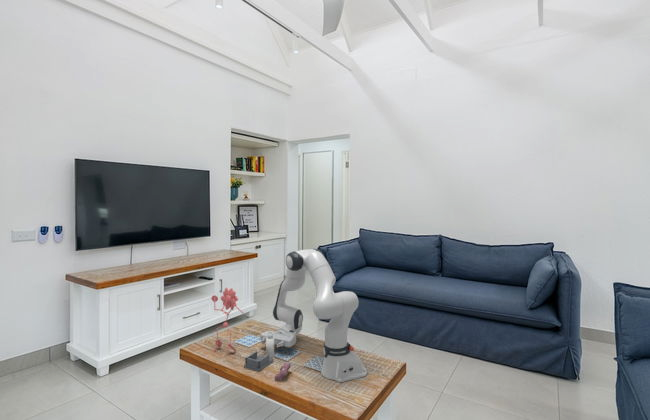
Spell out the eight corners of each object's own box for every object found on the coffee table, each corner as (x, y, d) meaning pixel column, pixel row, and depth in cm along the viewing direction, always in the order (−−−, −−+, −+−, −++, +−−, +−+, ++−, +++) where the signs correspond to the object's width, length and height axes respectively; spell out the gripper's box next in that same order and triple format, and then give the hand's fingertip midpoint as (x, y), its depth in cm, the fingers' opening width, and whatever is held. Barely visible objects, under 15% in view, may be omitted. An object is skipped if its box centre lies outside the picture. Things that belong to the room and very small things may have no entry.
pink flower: (235, 360, 169) (237, 293, 170) (203, 348, 183) (204, 287, 183) (256, 350, 183) (257, 288, 183) (224, 339, 196) (225, 282, 196)
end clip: (258, 357, 173) (258, 348, 173) (273, 361, 169) (273, 352, 169) (243, 367, 163) (244, 358, 162) (259, 371, 158) (259, 362, 158)
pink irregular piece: (281, 385, 150) (288, 372, 149) (273, 379, 151) (279, 367, 150) (287, 374, 160) (294, 362, 159) (279, 369, 160) (286, 357, 160)
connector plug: (273, 354, 177) (274, 332, 177) (274, 357, 173) (274, 335, 173) (265, 354, 176) (265, 333, 176) (266, 358, 172) (266, 336, 172)
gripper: (268, 326, 191) (253, 334, 178) (298, 332, 182) (285, 341, 169) (268, 336, 191) (253, 346, 178) (298, 343, 182) (285, 353, 170)
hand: (269, 344), depth 174 cm, fingers open, 8 cm apart
